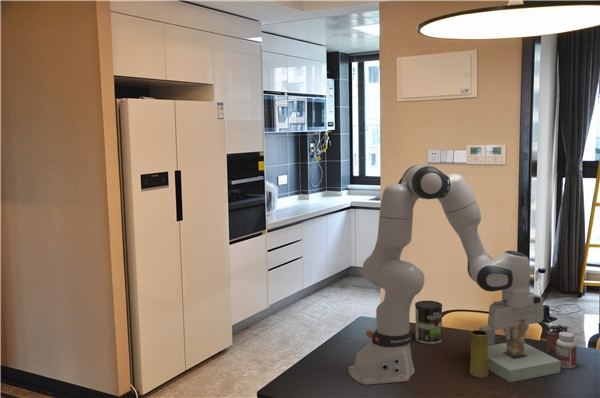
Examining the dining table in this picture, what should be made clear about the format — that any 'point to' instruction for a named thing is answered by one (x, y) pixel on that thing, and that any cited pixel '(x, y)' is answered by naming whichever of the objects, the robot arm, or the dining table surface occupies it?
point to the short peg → (489, 334)
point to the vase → (479, 354)
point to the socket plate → (521, 363)
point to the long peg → (516, 338)
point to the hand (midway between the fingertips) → (515, 337)
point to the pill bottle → (566, 350)
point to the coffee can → (428, 322)
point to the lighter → (554, 337)
